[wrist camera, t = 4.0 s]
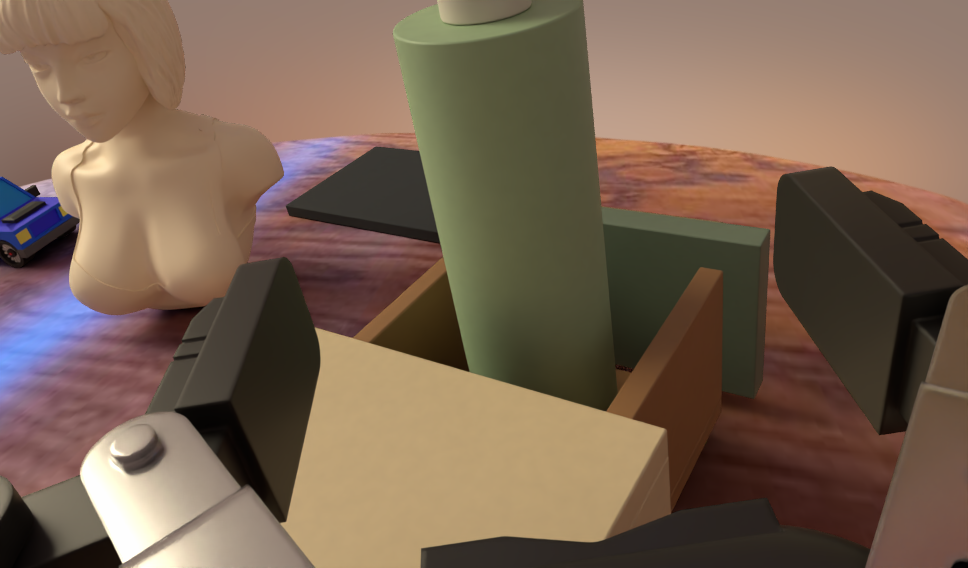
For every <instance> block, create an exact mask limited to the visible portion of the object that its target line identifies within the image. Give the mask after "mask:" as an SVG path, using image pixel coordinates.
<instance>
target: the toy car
mask: <svg viewBox="0 0 968 568" xmlns="http://www.w3.org/2000/svg"><path fill="white" fill-rule="evenodd" d="M38 195H40V193H39V191H38V189H37V187H36V185H32V186H30V187H29V188H27V189H25V190H23V189H22V188H20V187H18V186H17V185H15V184H13V183H12V182H10V181H8V180H7V179H5V178H3V177H0V257H1V258H2V260H4V261H5V262H6V263H7V264H9V265H10V266H12V267H16V268H20V267H22V266H23V265H25V264H26V263H28V262H29V261H30V260H32V259H33V258H34V257H35V252H37V251H38V250H40V249H41V248H43V247H44V246H46V245H47V244H48V243H50V242H51V241H53V240H54V239H56V238H59V239H60V238H64V237H65V236H67V235H68V234H70V233H71V232H73V231H74V230H75V229H76V224H78V223H79V222H80V219H79V218H76V217H73V216H71V215H70V214H68V213H67V212H65V211H64V210H63V209H62V207H61V205H60V202H59V200H58V197H36V196H38Z"/></svg>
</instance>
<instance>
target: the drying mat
mask: <svg viewBox="0 0 968 568" xmlns="http://www.w3.org/2000/svg"><path fill="white" fill-rule="evenodd" d="M286 208H287V211H288V214H289V215H290V216H296V217H301V218H307V219H312V220H318V221H323V222H329V223H334V224H339V225H345V226H350V227H356V228H361V229H367V230H372V231H378V232H383V233H389V234H394V235H399V236H405V237H410V238H416V239H421V240H427V241H432V242H438V243H440V240H439V235H438V231H437V226H436V222H435V217H434V213H433V209H432V204H431V200H430V195H429V191H428V187H427V182H426V178H425V173H424V169H423V165H422V160H421V156H420V151H413V150H404V149H394V148H385V147H374V148H373V149H371V150H370V151H368V152H367V153H365V154H364V155H362V156H361V157H359V158H358V159H356V160H355V161H353V162H352V163H350V164H348V165H347V166H345V167H344V168H342V169H341V170H339V171H338V172H336V173H335V174H333V175H332V176H330V177H329V178H327V179H326V180H324V181H323V182H321V183H320V184H318V185H316V186H315V187H313V188H312V189H310V190H309V191H307V192H306V193H304V194H303V195H301V196H300V197H298V198H297V199H295V200H294V201H292V202H291V203H289V204H288V205H286Z"/></svg>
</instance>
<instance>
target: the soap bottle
mask: <svg viewBox="0 0 968 568" xmlns="http://www.w3.org/2000/svg"><path fill="white" fill-rule="evenodd" d="M437 2H438V4H437V5H434V6H431V7H428V8H425V9H423V10H420V11H418V12H416V13H414V14H412V15H410V16H408V17H406V18H405V19H403V20H402V21H400V22H399V23H398V24H397V25H396V26H395V28H394V30H393V36H394V41H395V45H396V49H397V54H398V58H399V63H400V67H401V72H402V76H403V81H404V85H405V89H406V93H407V98H408V103H409V107H410V111H411V116H412V120H413V125H414V129H415V134H416V138H417V142H418V147H419V151H420V156H421V160H422V165H423V169H424V173H425V178H426V182H427V187H428V191H429V195H430V200H431V204H432V209H433V213H434V217H435V222H436V226H437V231H438V235H439V240H440V244H441V248H442V253H443V257H444V262H445V266H446V270H447V275H448V279H449V284H450V288H451V292H452V297H453V301H454V306H455V310H456V315H457V319H458V323H459V328H460V332H461V337H462V341H463V345H464V350H465V354H466V359H467V363H468V367H469V372H471V373H474V374H478V375H481V376H485V377H488V378H491V379H495V380H498V381H502V382H505V383H509V384H512V385H516V386H519V387H523V388H526V389H529V390H533V391H536V392H540V393H543V394H547V395H550V396H554V397H557V398H561V399H564V400H567V401H571V402H574V403H578V404H581V405H585V406H588V407H592V408H595V409H599V410H602V411H605V412H606V411H607V409H608V408H609V406H610V405H611V403H612V402H613V400H614V399H615V397H616V396H617V394H618V390H617V379H616V368H615V356H614V345H613V334H612V322H611V311H610V300H609V289H608V277H607V266H606V255H605V243H604V232H603V221H602V209H601V198H600V187H599V176H598V164H597V153H596V142H595V132H594V131H595V130H594V119H593V109H592V96H591V86H590V74H589V63H588V51H587V40H586V29H585V17H584V6H583V0H437Z"/></svg>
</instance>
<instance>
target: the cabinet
mask: <svg viewBox="0 0 968 568" xmlns="http://www.w3.org/2000/svg"><path fill="white" fill-rule="evenodd" d="M315 330H316V333H317V337H318V341H319V346H320V357H321V364H320V371H319V376H318V380H317V385H316V390H315V394H314V399H313V403H312V408H311V412H310V417H309V421H308V426H307V430H306V435H305V439H304V444H303V448H302V453H301V457H300V462H299V467H298V471H297V476H296V480H295V485H294V489H293V494H292V498H291V503H290V507H289V512H288V516H287V521H286V522H283V523H280V524H281V525H282V526H283V528H284V529H285V530H286V531H287V533H288V534H289V535H290V536H291V538H292V539H293V540H294V542H295V543H296V544H297V545H298V547H299V548H300V549H301V550H302V552H303V553H304V554H305V555H306V557H307V558H308V559H309V560H310V562H311V563H312V564H313V565H314V567H315V568H421V548H427V547H433V546H440V545H447V544H454V543H461V542H467V541H474V540H481V539H488V538H495V537H501V536H511V537H524V538H537V539H551V540H564V541H577V542H597V541H602V540H605V539H608V538H610V537H613V536H615V535H618V534H620V533H623V532H626V531H628V530H631V529H633V528H636V527H638V526H641V525H644V524H646V523H649V522H651V521H654V520H657V519H659V518H662V517H664V516H667V515H669V514H671V505H670V481H669V458H668V442H667V430H666V429H664V428H661V427H657V426H654V425H650V424H647V423H643V422H640V421H637V420H633V419H630V418H626V417H623V416H619V415H616V414H612V413H609V412H605V411H602V410H599V409H595V408H592V407H588V406H585V405H581V404H578V403H574V402H571V401H567V400H564V399H561V398H557V397H554V396H550V395H547V394H543V393H540V392H536V391H533V390H529V389H526V388H523V387H519V386H516V385H512V384H509V383H505V382H502V381H498V380H495V379H491V378H488V377H485V376H481V375H478V374H474V373H471V372H467V371H464V370H460V369H457V368H453V367H450V366H447V365H443V364H440V363H436V362H433V361H429V360H426V359H422V358H419V357H415V356H412V355H409V354H405V353H402V352H398V351H395V350H391V349H388V348H384V347H381V346H377V345H374V344H371V343H367V342H364V341H360V340H357V339H353V338H350V337H346V336H343V335H339V334H336V333H333V332H329V331H326V330H322V329H319V328H315Z"/></svg>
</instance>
